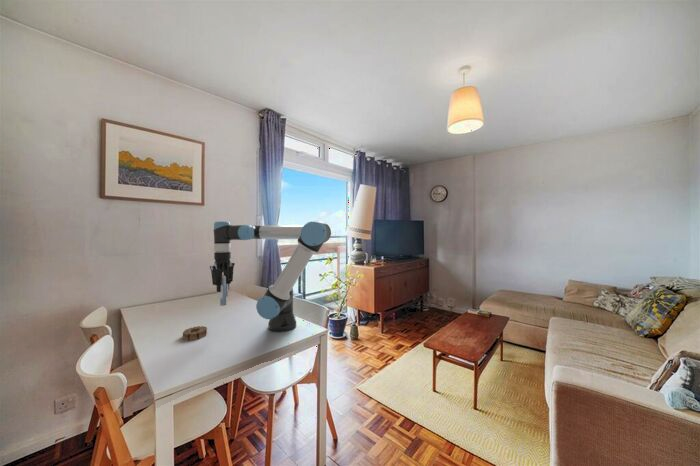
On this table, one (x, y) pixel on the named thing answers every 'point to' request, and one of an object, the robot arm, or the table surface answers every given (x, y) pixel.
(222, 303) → the dowel
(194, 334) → the wooden gear
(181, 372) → the table surface
